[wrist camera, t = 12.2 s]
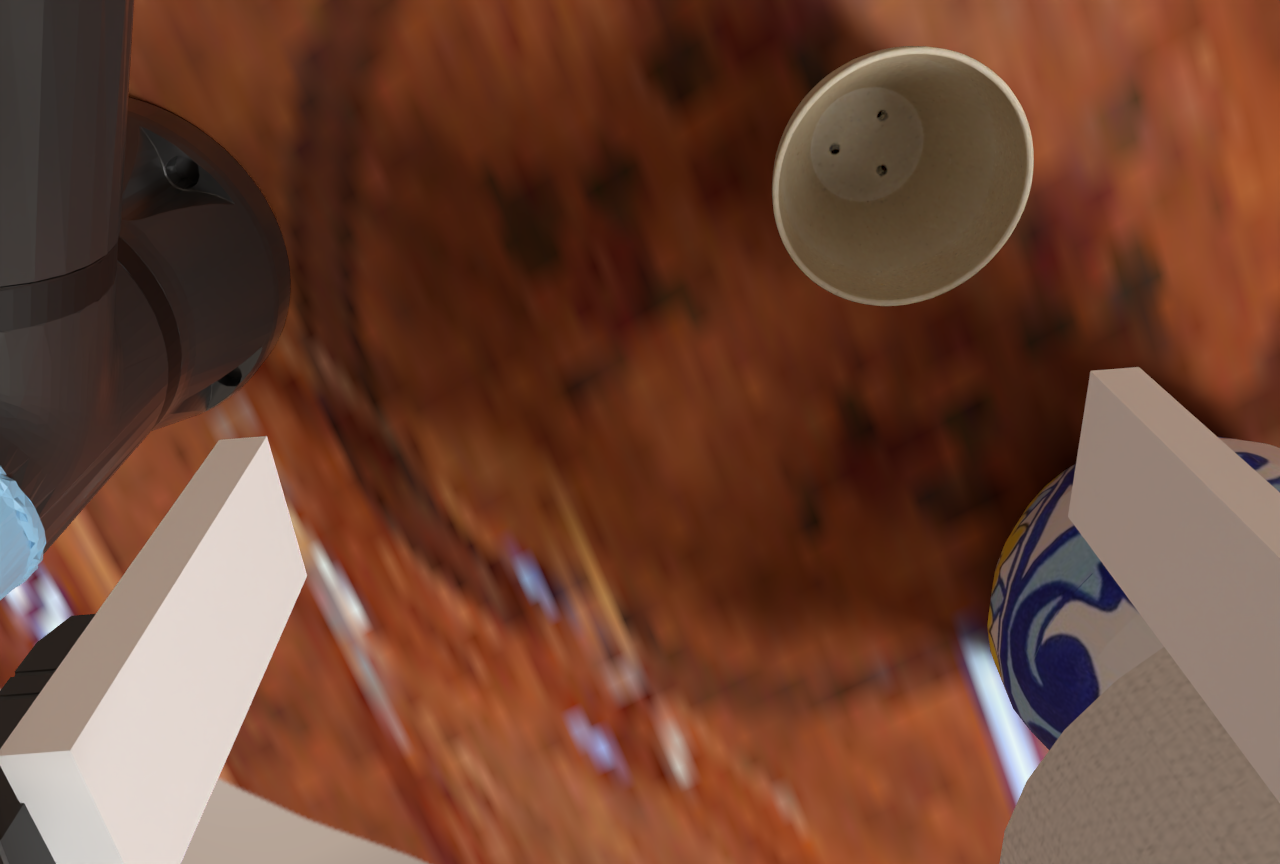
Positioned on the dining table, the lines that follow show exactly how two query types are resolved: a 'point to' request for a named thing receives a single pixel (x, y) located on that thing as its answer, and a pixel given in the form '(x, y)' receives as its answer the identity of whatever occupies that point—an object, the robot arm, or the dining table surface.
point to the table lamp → (1114, 712)
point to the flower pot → (902, 175)
